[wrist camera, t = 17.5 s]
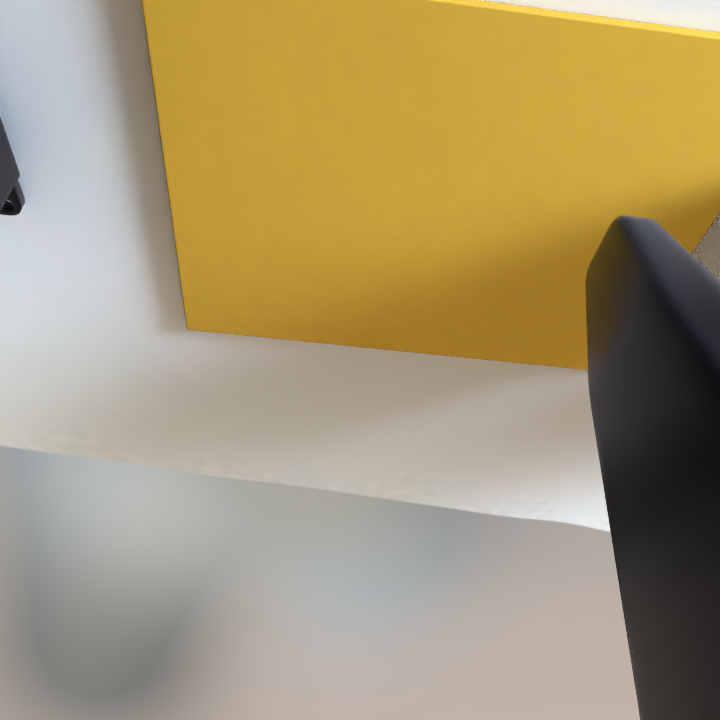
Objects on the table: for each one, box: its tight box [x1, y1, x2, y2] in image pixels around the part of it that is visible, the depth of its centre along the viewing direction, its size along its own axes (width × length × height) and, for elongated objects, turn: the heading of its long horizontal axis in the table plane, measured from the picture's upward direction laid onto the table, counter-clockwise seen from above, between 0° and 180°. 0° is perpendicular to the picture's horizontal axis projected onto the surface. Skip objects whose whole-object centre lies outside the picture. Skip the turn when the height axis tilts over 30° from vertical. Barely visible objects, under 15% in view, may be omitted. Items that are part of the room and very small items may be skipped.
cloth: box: [142, 0, 720, 370], centre depth 24 cm, size 19×15×1 cm
